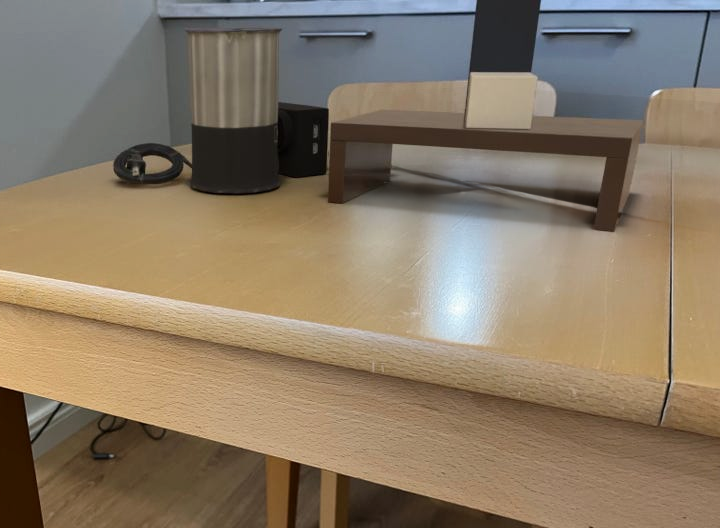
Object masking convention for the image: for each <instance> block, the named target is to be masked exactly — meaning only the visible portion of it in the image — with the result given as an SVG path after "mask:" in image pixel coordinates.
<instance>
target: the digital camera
mask: <svg viewBox="0 0 720 528" xmlns="http://www.w3.org/2000/svg"><path fill="white" fill-rule="evenodd" d="M329 119H330V108H328V107H323V106H322V107H321V106H316V105H308V104H307V105H306V104H300V103H291V102H283V101H282V102H281V101H278V121H277V122H278V139H277V141H278V142H277V146H278V148H277V155H278V164H279V168H278V169H279V171H278V174H280V175H283V176H287V177H291V178H303V177H309V176H319V175H326V174H327V172H328V169H327V168H328V145H329V121H330V120H329Z"/></svg>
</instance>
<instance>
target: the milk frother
mask: <svg viewBox="0 0 720 528" xmlns="http://www.w3.org/2000/svg"><path fill="white" fill-rule="evenodd" d="M282 31H283V28H282V27H271V26H270V27H269V26H268V27H266V26H265V27H264V26H256V27H255V26H249V27H248V26H243V27H241V26H240V27H190V28H188V27H187V28H184V32H185V33H187V40H188V41H187V42H188V44H187V45H188V67H189V68H188V70H189V94H190V95H189V96H190V119H191V121H190V122H191V124H190V126H191V162H190V161H189V159H187V157H186V156H185V155H183V154H182V153H181V152H180V151H178V150H176V149H175V148H173V147H172V146H170V145H166V144H162V143H156V142H147V143H140V144H135V145H133V146H131V147H130V146H129V147H128V148H127V149H124V150H123V151H121V152H120V153H119V154H118V155H117V156H116V157H115V158H114V160H113V164H112V166H113V172H114V174H115V176H116V177H118V178H119V179H121V180H122V181H125V182H128V183H133V184H137V185H139V184H140V185H161V184H166V183H169V182H172V181H174V180H175V179H177V178H179V176H180V175H181V174H182V173H183V171H184V165H186V166H188V167H189V168H190V169H191V176H190V180H189V186H190V188H192V189H195V190H198V191H201V192H206V193H213V194H232V195H233V194H234V195H235V194H254V193H260V192H266V191H271V190H275V189H278V187H280V185H281V180H280V179H279V173H278V171H279V169H278V168H279V164H278V155H277V148H278V146H277V142H278V141H277V139H278V122H277V121H278V102H279V75H280V74H279V71H280V69H279V68H280V67H279V66H280V63H279V62H280V61H279V60H280V59H279V58H280V54H279V52H280V42H279V41H280V32H282ZM150 156H152V157H154V156H155V157H160V158H163V159H165V160H167V161H168V162H170V163H171V166H170V167H168V168H167V169H166V170H162V171H159V172H154V173H146V167H147V162H146V161H145V160H144V159H143V158H145V157H150Z"/></svg>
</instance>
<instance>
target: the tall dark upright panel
mask: <svg viewBox="0 0 720 528" xmlns="http://www.w3.org/2000/svg"><path fill="white" fill-rule="evenodd" d="M541 3H542V0H476V3H475V12H474V21H473V22H474V23H473V31H472V40H471V48H470V51H471V52H470V58H469V59H470V60H469V70H468V76H467V87H466V97H465V105H464V113H465V122H466V128H479V129H528V130H529V129H531V122H532V116H534V115H533V114H534V107H535V99H536V93H537V86H538V80H539V78H538V77H539V76H538V75H536V74H534V73H532V69H533V63H534V54H535V48H536V40H537V32H538V26H539V18H540V11H541Z"/></svg>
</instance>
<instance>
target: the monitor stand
mask: <svg viewBox="0 0 720 528" xmlns="http://www.w3.org/2000/svg"><path fill="white" fill-rule="evenodd" d="M643 127H644V120H643V119H625V118H623V119H621V118H600V117H599V118H597V117H595V118H594V117H575V116H574V117H572V116H571V117H570V116H550V115H549V116H548V115H546V116H545V115H532V122H531V129H529V130H528V129H479V128H466V122H465V112H453V111H451V112H449V111H426V110H425V111H423V110H403V109H402V110H401V109H377V110H375V111H371V112H367V113H363V114H360V115H359V114H358V115H355V116H351V117H347V118H343V119H340V120H336V121H333V122H331V123H330V135H329V160H328V161H329V164H328V165H329V166H328V187H327V189H328V191H327V202H328V203H333V204H344V203H346V202H348V201H351V200H352V199H354V198H357V197H358V196H359V197H360V195H362V194H365V193H366V192H368V191H370V190H373V189H374V188H377V187H379V186H380V185H383V184H385V183H387V182H389V181H390V180H391V172H392V159H393V145H402V146H403V145H404V146H419V147H436V148H450V149H468V150H481V151H482V150H483V151H497V152H498V151H499V152H515V153H532V154H533V153H534V154H546V155H547V154H548V155H565V156H581V157H595V158H596V157H597V158H605V163H604V169H603V174H602V179H601V186H600V190H599V196H598V200H597V201H598V202H597V208H596V213H595V217H594V223H593V228H592V229H593V230H596V231H606V232H615V230H616V229H617V226H618V224H619V222H620V219H621V217H622V214H623V209H624V207H625V205H626V202H627V200H628V198H629V196H630V192H631V186H632V182H633V177H634V171H635V167H636V162H637V157H638V152H639V148H640V147H639V146H640V141H641V136H642V131H643Z"/></svg>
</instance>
